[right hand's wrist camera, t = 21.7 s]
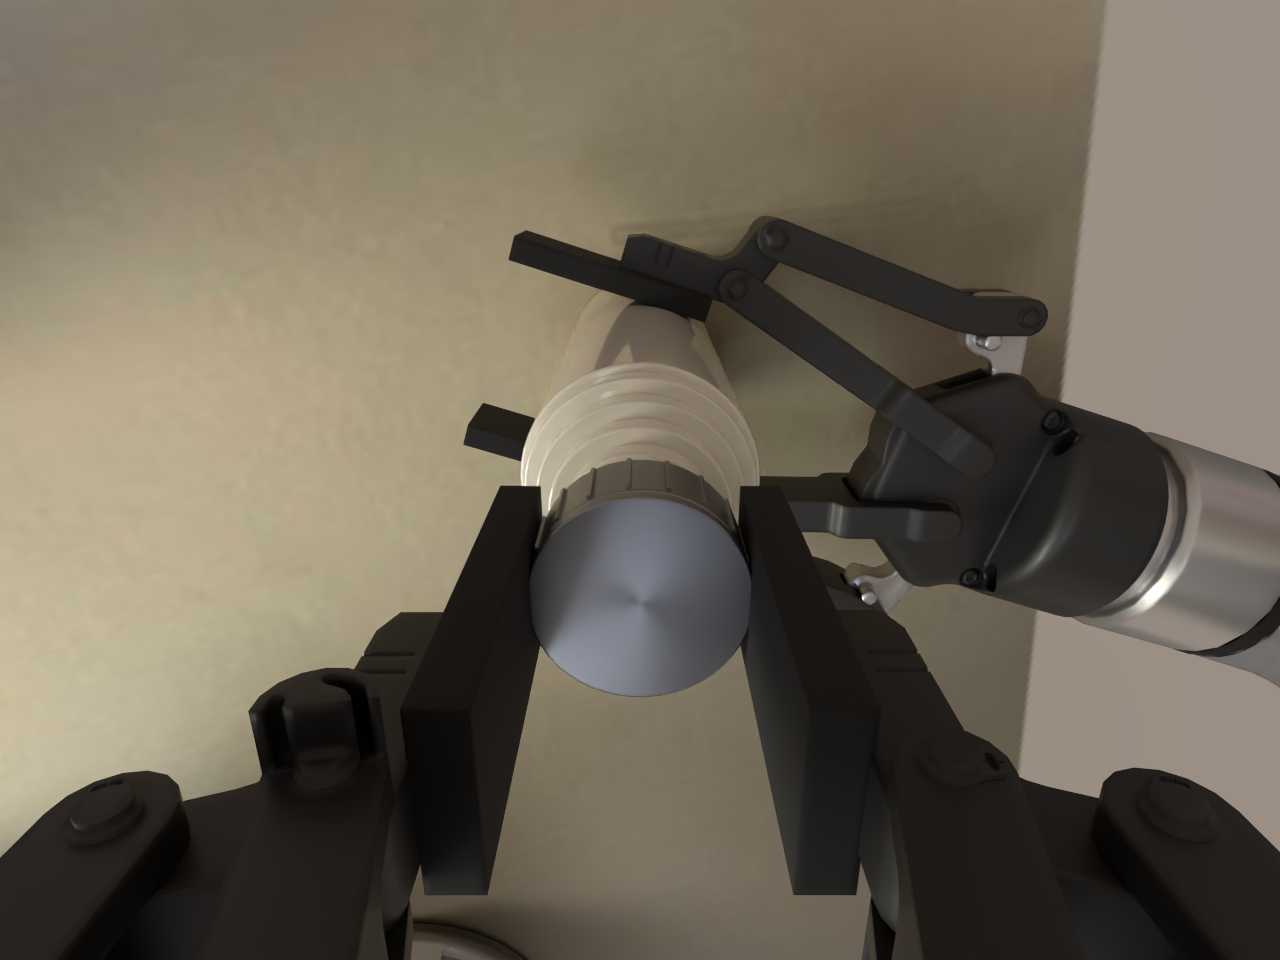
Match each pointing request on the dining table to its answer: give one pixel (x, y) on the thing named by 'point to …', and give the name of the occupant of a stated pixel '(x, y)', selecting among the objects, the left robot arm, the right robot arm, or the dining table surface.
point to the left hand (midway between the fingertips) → (496, 337)
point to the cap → (640, 579)
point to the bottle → (639, 403)
